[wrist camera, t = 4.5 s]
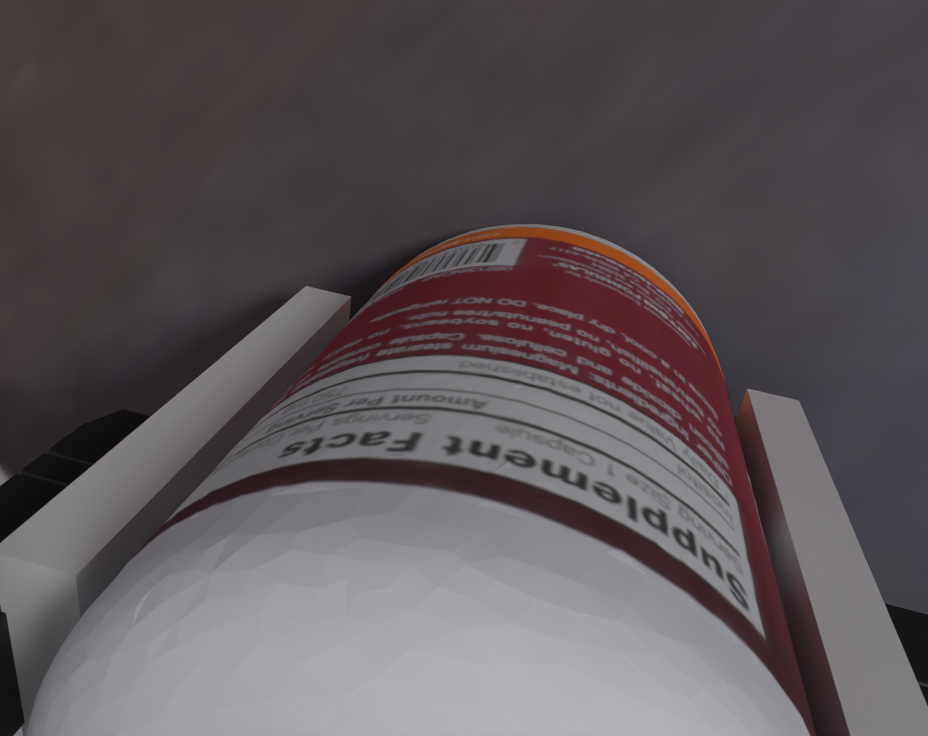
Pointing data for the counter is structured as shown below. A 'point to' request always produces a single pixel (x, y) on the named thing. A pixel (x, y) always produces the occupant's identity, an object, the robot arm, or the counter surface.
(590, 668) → the pill bottle
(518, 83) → the counter surface
